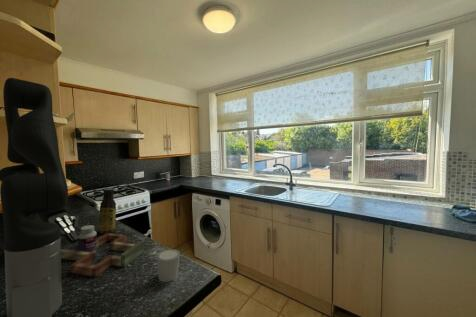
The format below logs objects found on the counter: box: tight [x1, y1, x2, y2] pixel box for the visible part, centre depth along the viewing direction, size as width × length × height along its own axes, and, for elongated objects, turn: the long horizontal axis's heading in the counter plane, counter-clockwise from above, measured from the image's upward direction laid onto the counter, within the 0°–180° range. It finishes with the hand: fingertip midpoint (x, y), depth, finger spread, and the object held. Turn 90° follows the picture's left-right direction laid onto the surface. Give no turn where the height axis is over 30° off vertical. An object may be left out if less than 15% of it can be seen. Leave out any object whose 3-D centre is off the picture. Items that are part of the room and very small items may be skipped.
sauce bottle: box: [98, 187, 117, 235], centre depth 91 cm, size 6×6×20 cm
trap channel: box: [61, 233, 144, 278], centre depth 73 cm, size 26×22×4 cm
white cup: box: [156, 248, 181, 283], centre depth 63 cm, size 7×7×7 cm
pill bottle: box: [77, 224, 98, 254], centre depth 74 cm, size 5×5×10 cm
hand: (76, 241), depth 74 cm, fingers closed
